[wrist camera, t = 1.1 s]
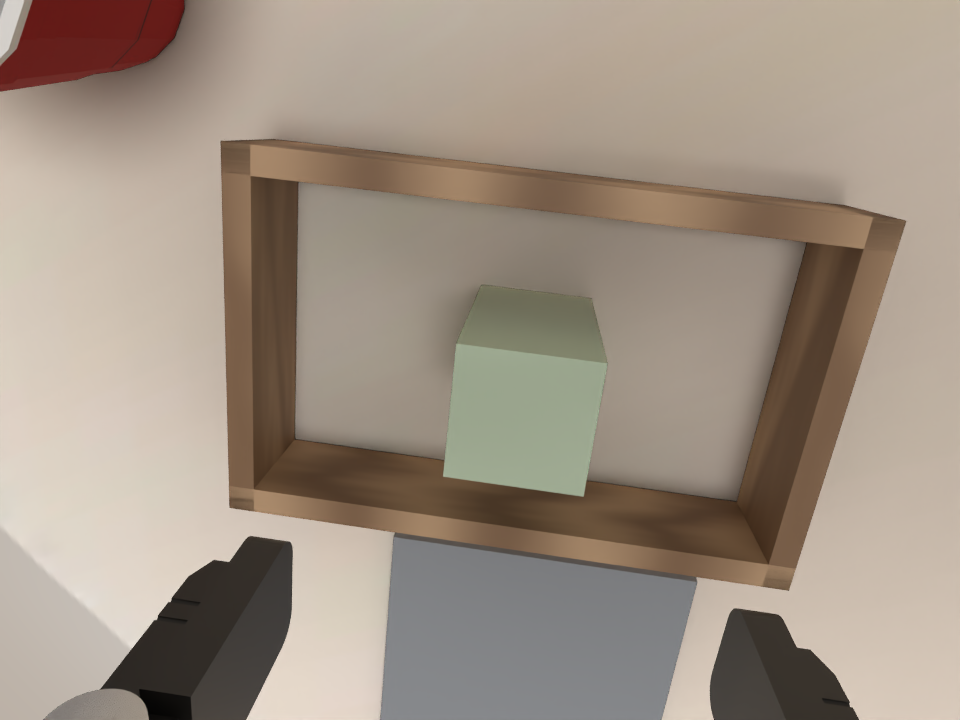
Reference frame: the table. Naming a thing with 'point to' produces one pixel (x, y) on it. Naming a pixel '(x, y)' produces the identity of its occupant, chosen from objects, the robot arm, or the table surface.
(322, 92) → the table surface
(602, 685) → the slate mat
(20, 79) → the plastic cup
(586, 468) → the sage block
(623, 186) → the wooden frame
